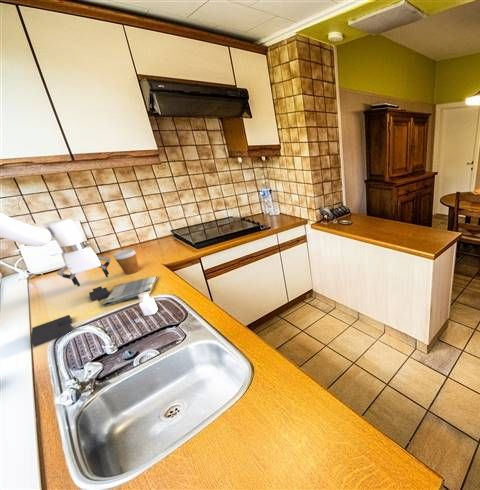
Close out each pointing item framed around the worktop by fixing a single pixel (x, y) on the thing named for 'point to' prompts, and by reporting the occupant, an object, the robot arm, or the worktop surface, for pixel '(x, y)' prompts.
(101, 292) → the black pad
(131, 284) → the dish towel
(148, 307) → the pepper shaker
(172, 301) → the worktop surface
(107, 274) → the robot arm
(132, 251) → the disposable coffee cup
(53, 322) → the charcoal pad
